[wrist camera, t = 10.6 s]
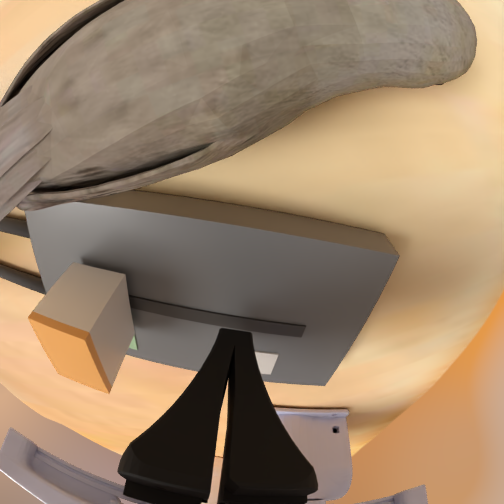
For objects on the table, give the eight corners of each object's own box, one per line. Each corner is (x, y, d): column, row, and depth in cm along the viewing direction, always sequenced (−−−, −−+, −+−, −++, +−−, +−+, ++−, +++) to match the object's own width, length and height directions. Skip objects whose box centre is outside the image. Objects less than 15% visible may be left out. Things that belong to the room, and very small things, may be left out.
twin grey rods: (50, 222, 13) (40, 229, 12) (67, 293, 16) (60, 302, 15) (-36, 206, 12) (-43, 211, 12) (-20, 261, 15) (-26, 267, 14)
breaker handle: (125, 274, 11) (85, 340, 8) (135, 333, 13) (109, 394, 10) (73, 262, 11) (27, 317, 8) (88, 320, 13) (58, 373, 10)
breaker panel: (384, 234, 12) (400, 256, 11) (321, 361, 18) (325, 387, 16) (45, 181, 12) (21, 196, 10) (74, 314, 17) (61, 334, 15)
